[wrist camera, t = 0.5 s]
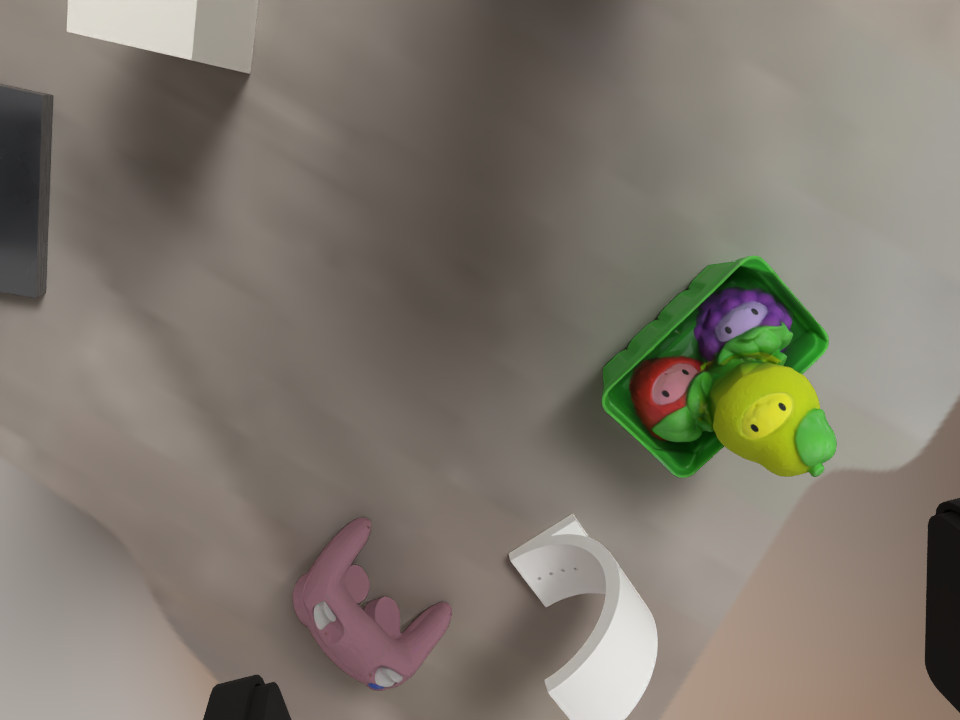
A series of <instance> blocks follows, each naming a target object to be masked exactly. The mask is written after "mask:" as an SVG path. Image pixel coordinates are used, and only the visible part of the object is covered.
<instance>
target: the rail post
mask: <svg viewBox="0 0 960 720" xmlns="http://www.w3.org/2000/svg"><path fill="white" fill-rule="evenodd" d="M258 3H259V0H68V14H67V32H71V33H75V34H79V35H83V36H88V37H92V38H96V39H101V40H105V41H109V42H113V43H118V44H122V45H126V46H131V47H135V48H139V49H143V50H148V51H152V52H156V53H161V54H165V55H169V56H174V57H178V58H182V59H187V60H191V61H196V62H200V63H204V64H209V65H213V66H218V67H222V68H226V69H231V70H235V71H240V72H244V73H248V74H250V73H251V65H252V56H253V47H254V38H255V29H256V20H257V11H258Z"/></svg>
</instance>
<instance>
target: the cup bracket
mask: <svg viewBox="0 0 960 720" xmlns="http://www.w3.org/2000/svg"><path fill="white" fill-rule="evenodd" d="M52 109H53V95H50V94H45V93H40V92H35V91H31V90H26V89H21V88H16V87H12V86H7V85H2V84H0V292H3V293H9V294H15V295H22V296H28V297H34V298H36V297H38V296H40V295H42V294H43V293H45V292H46V273H47V246H48V218H49V191H50V164H51V136H52Z"/></svg>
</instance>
